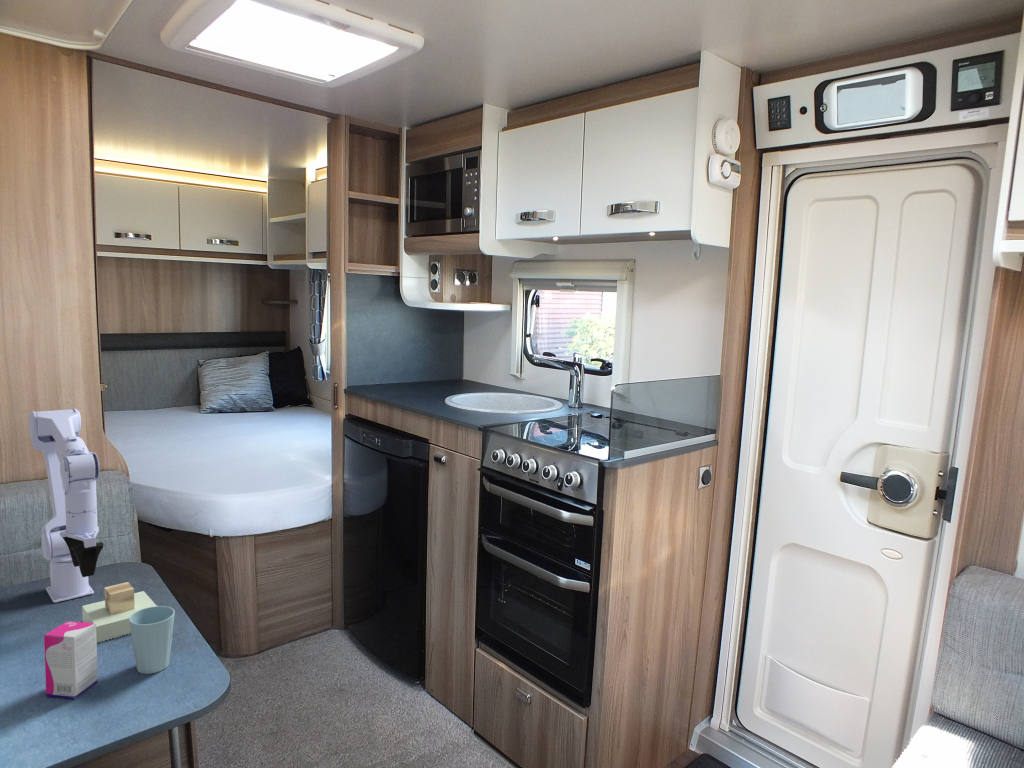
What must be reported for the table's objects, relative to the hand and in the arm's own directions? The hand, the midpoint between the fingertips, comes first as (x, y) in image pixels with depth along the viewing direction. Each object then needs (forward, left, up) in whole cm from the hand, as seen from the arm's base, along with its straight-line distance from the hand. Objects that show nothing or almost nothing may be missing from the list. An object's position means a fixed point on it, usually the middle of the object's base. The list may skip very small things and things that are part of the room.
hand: (83, 570), depth 144 cm
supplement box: (+29, -8, -11) cm, 32 cm away
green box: (+8, +5, -11) cm, 15 cm away
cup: (+30, +5, -11) cm, 33 cm away
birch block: (+8, +5, -7) cm, 12 cm away
